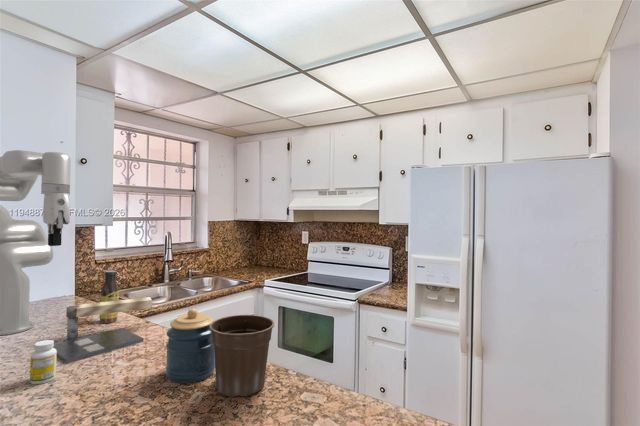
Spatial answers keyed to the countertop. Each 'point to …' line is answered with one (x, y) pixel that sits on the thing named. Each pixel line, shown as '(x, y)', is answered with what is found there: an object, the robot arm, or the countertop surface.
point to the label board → (92, 342)
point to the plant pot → (241, 353)
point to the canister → (190, 348)
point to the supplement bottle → (43, 362)
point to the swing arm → (108, 307)
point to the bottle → (109, 295)
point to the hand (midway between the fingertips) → (54, 245)
